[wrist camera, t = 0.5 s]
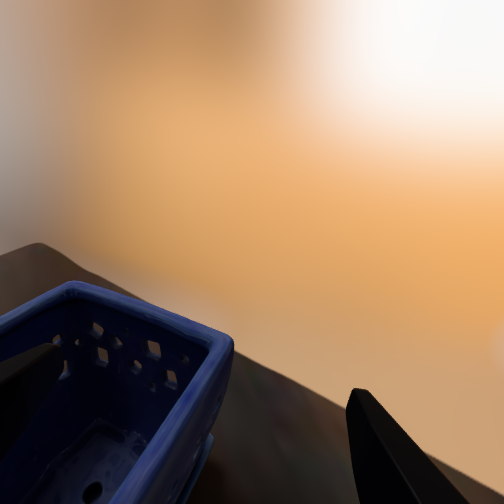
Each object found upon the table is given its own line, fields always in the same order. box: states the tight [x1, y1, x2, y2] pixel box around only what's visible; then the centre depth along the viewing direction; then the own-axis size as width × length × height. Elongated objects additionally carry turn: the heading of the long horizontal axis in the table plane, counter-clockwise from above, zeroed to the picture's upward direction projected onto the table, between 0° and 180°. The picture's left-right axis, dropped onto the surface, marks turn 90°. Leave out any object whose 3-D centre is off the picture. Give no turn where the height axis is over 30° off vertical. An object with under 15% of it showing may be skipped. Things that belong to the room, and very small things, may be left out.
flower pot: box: [0, 281, 234, 504], centre depth 16 cm, size 13×13×12 cm
